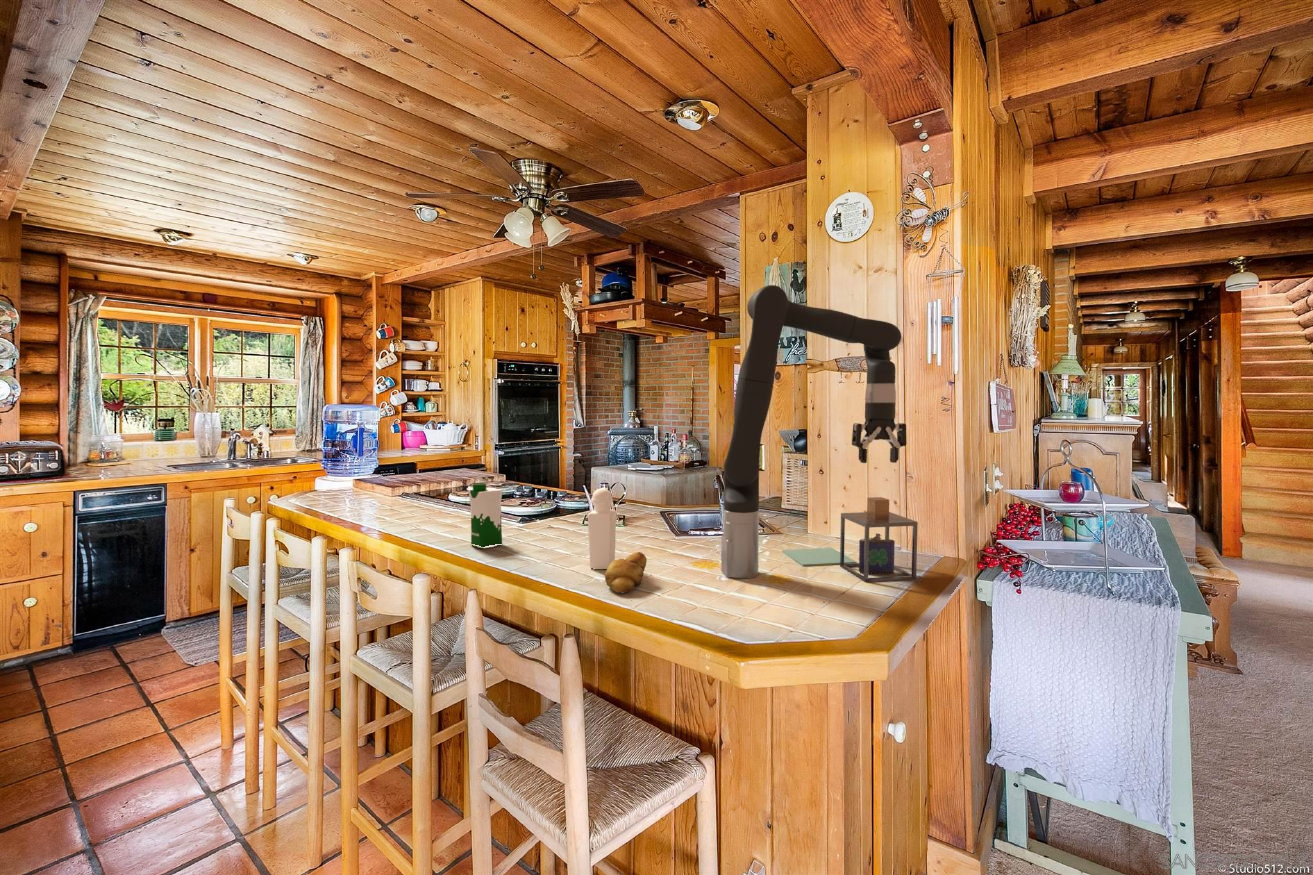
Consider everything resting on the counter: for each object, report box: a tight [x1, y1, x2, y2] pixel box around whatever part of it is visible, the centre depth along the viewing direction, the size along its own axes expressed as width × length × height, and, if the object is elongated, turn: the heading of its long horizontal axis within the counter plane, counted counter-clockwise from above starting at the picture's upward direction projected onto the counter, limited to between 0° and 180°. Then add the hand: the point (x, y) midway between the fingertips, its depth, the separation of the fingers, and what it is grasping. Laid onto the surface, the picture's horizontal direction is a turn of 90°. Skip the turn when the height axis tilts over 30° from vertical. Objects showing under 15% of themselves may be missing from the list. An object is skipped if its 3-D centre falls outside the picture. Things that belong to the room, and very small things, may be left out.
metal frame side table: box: [839, 496, 918, 583], centre depth 157 cm, size 14×14×20 cm
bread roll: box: [604, 551, 647, 593], centre depth 146 cm, size 13×10×8 cm
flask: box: [858, 533, 896, 575], centre depth 157 cm, size 9×3×11 cm, turn 88°
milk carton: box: [468, 482, 503, 547], centre depth 187 cm, size 9×9×20 cm
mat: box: [781, 547, 858, 567], centre depth 173 cm, size 16×16×1 cm
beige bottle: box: [587, 487, 617, 569], centre depth 163 cm, size 6×6×22 cm
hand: (878, 462), depth 156 cm, fingers open, 8 cm apart
